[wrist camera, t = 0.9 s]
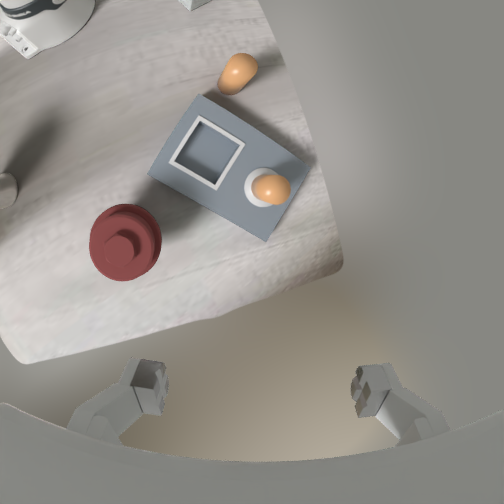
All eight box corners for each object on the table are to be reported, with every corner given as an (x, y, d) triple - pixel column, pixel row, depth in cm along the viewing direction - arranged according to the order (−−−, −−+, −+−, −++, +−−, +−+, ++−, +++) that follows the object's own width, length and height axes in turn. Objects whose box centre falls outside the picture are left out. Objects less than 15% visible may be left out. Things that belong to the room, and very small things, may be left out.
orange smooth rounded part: (212, 87, 40) (222, 68, 32) (226, 68, 40) (238, 48, 32) (233, 99, 42) (247, 84, 34) (246, 81, 42) (263, 63, 33)
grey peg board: (148, 174, 42) (142, 174, 33) (196, 98, 40) (203, 81, 32) (260, 237, 49) (279, 252, 41) (303, 167, 48) (329, 167, 39)
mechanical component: (98, 204, 41) (159, 195, 43) (108, 265, 44) (166, 257, 46) (74, 215, 29) (154, 203, 32) (90, 295, 32) (165, 285, 34)
